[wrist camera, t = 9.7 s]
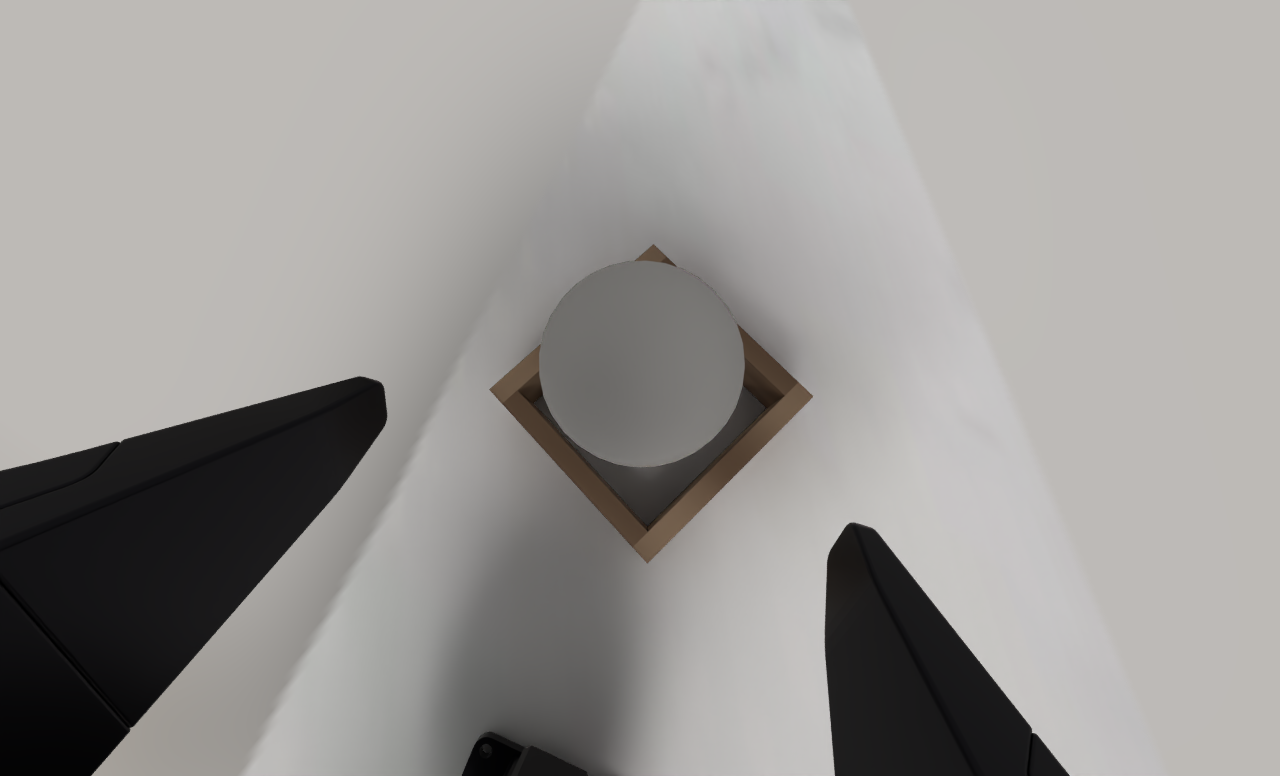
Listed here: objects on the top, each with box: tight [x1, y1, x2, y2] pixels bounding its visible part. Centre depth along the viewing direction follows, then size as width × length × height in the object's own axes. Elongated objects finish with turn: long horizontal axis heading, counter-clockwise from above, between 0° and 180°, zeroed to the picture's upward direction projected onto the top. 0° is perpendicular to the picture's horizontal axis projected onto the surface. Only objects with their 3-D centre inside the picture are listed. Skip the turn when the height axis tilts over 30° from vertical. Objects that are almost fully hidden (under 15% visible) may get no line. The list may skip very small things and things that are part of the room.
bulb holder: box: [489, 244, 813, 563], centre depth 21 cm, size 9×9×3 cm
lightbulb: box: [539, 261, 745, 467], centre depth 17 cm, size 6×6×11 cm
